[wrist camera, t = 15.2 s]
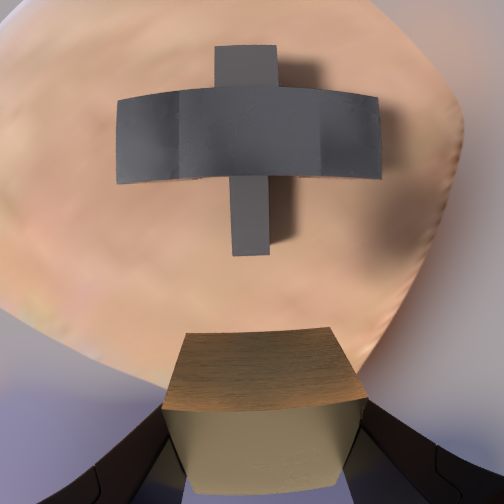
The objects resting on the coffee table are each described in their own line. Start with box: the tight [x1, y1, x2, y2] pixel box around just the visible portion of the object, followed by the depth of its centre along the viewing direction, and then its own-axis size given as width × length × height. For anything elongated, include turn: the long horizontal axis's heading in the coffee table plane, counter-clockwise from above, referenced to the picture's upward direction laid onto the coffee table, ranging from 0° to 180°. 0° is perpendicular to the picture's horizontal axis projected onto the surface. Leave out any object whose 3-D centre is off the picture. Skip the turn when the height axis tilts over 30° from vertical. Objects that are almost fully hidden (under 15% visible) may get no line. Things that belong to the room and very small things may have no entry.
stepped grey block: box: [215, 45, 279, 256], centre depth 14 cm, size 11×3×4 cm, turn 2°
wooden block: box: [161, 327, 368, 495], centre depth 7 cm, size 5×4×3 cm
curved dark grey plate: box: [116, 86, 382, 184], centre depth 13 cm, size 4×12×5 cm, turn 91°
